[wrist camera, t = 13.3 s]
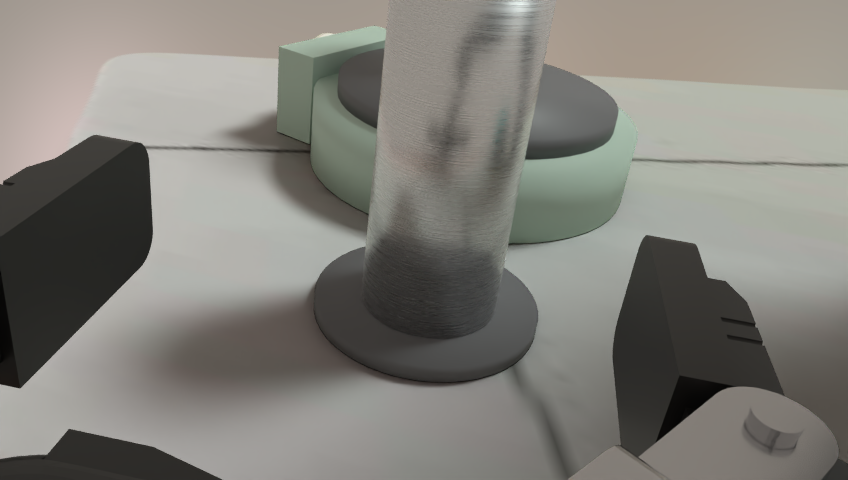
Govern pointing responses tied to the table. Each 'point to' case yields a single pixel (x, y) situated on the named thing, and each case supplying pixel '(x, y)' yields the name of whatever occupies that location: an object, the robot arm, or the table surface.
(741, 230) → the table surface
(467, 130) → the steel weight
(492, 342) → the rubber pad
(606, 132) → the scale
